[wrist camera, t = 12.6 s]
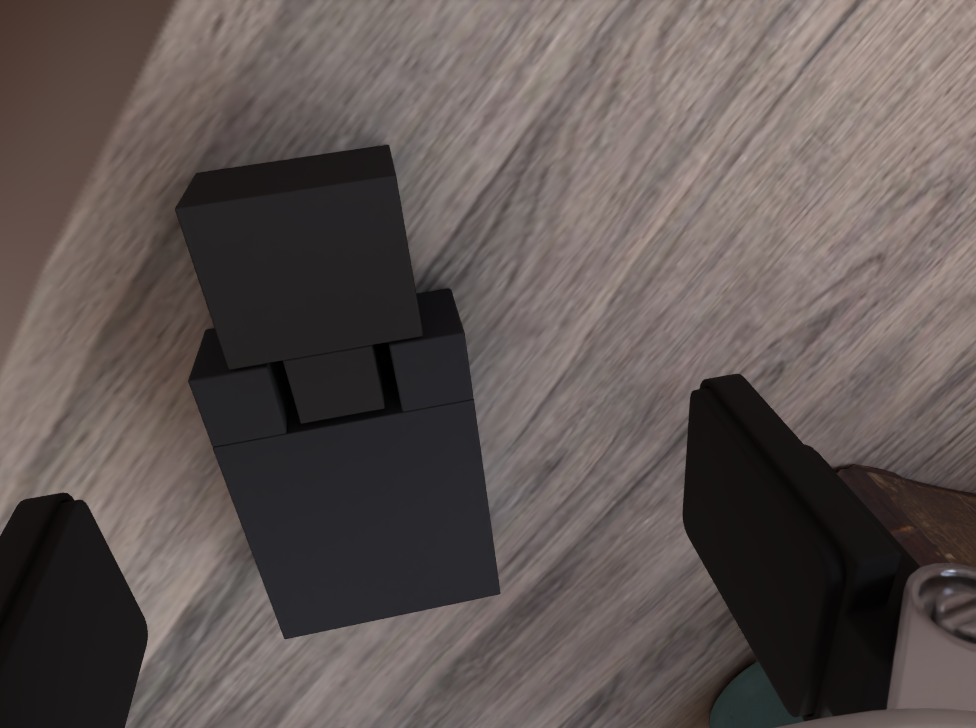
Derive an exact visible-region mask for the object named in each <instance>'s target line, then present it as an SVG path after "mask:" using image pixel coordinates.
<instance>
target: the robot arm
mask: <svg viewBox="0 0 976 728" xmlns="http://www.w3.org/2000/svg"><path fill="white" fill-rule="evenodd" d="M683 523H684V527H685V530H686V533H687V535H688V537H689V539H690V541H691V543H692V545H693V546H694V548H695V550H696V552H697V553H698V555H699V557H700V559H701V560H702V562H703V564H704V566H705V568H706V569H707V571H708V573H709V575H710V576H711V578H712V580H713V582H714V583H715V585H716V587H717V589H718V590H719V592H720V594H721V596H722V598H723V599H724V601H725V603H726V605H727V606H728V608H729V610H730V612H731V613H732V615H733V617H734V619H735V620H736V622H737V624H738V626H739V628H740V629H741V631H742V633H743V635H744V636H745V638H746V640H747V642H748V643H749V645H750V647H751V649H752V650H753V652H754V654H755V656H756V658H757V659H758V661H759V663H760V665H761V666H762V668H763V670H764V672H765V673H766V675H767V677H768V679H769V681H770V682H771V684H772V686H773V688H774V689H775V691H776V693H777V695H778V696H779V698H780V700H781V702H782V703H783V705H784V707H785V708H786V710H787V711H788V713H789V714H790V715H791V716H793V717H800V716H802V718H803V720H804V721H805V722H800V723H795V724H790V725H785V726H780V727H776V728H976V568H975V567H972V566H967V565H961V564H956V563H934V564H930V565H927V566H924V567H920V565H919V564H918V563H917V562H916V561H915V560H914V559H913V558H912V557H911V555H910V554H909V553H908V552H907V551H906V550H905V549H904V548H903V547H902V545H901V544H900V543H899V542H898V541H897V540H896V539H895V538H894V537H893V535H892V534H891V533H890V532H889V531H888V530H887V529H886V528H885V527H884V525H883V524H882V523H881V522H880V521H879V520H878V519H877V518H876V517H875V515H874V514H873V513H872V512H871V511H870V510H869V509H868V508H867V507H866V505H865V504H864V503H863V502H862V501H861V500H860V499H859V498H858V497H857V495H856V494H855V493H854V492H853V491H852V490H851V489H850V488H849V487H848V485H847V484H846V483H845V482H844V481H843V480H842V479H841V478H840V477H839V475H838V474H837V473H836V472H835V471H834V470H833V469H832V468H831V467H830V465H829V464H828V463H827V462H826V461H825V460H824V459H823V458H822V457H821V455H820V454H819V453H818V452H817V451H815V450H814V449H813V448H812V447H811V446H807V445H804V444H803V443H802V442H801V441H800V440H799V439H798V437H797V436H796V435H795V434H794V433H793V432H792V431H791V430H790V428H789V427H788V426H787V425H786V424H785V423H784V422H783V421H782V419H781V418H780V417H779V416H778V415H777V414H776V413H775V412H774V410H773V409H772V408H771V407H770V406H769V405H768V404H767V403H766V401H765V400H764V399H763V398H762V397H761V396H760V395H759V394H758V392H757V391H756V390H755V389H754V388H753V387H752V386H751V385H750V383H749V382H748V381H747V380H746V379H745V378H744V377H743V376H742V375H741V374H732V375H726V376H721V377H715V378H709V379H705V380H703V381H702V383H701V385H700V389H699V390H694V391H692V393H691V396H690V408H689V423H688V438H687V453H686V469H685V484H684V499H683ZM147 640H148V630H147V624H146V621H145V618H144V616H143V614H142V612H141V610H140V608H139V606H138V604H137V602H136V600H135V598H134V596H133V594H132V592H131V590H130V588H129V586H128V584H127V582H126V580H125V578H124V576H123V574H122V572H121V570H120V568H119V566H118V564H117V562H116V560H115V558H114V556H113V555H112V553H111V551H110V549H109V547H108V545H107V543H106V541H105V539H104V537H103V535H102V533H101V531H100V529H99V527H98V525H97V523H96V521H95V519H94V517H93V515H92V513H91V511H90V509H89V507H88V505H87V504H86V503H85V502H84V501H83V500H74V499H73V498H72V496H70V495H69V494H68V493H58V494H53V495H47V496H41V497H36V498H30V499H25V500H23V501H21V502H20V503H19V504H18V505H17V507H16V509H15V510H14V512H13V514H12V516H11V518H10V519H9V521H8V523H7V525H6V527H5V528H4V530H3V532H2V534H1V536H0V728H125V725H126V721H127V717H128V713H129V710H130V706H131V702H132V698H133V695H134V691H135V687H136V683H137V680H138V676H139V672H140V668H141V664H142V661H143V657H144V653H145V649H146V646H147Z"/></svg>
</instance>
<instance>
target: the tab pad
mask: <svg viewBox="0 0 976 728" xmlns="http://www.w3.org/2000/svg"><path fill="white" fill-rule="evenodd" d="M175 211H176V214H177V217H178V220H179V223H180V226H181V229H182V232H183V235H184V238H185V241H186V244H187V247H188V250H189V253H190V256H191V259H192V262H193V265H194V268H195V271H196V274H197V277H198V280H199V282H200V285H201V288H202V291H203V294H204V297H205V300H206V303H207V306H208V309H209V312H210V315H211V318H212V321H213V324H214V327H215V330H216V333H217V336H218V339H219V342H220V345H221V348H222V351H223V354H224V357H225V360H226V363H227V366H228V368H229V369H236V368H242V367H247V366H253V365H259V364H264V363H270V362H276V361H282V360H283V363H284V367H285V370H286V374H287V377H288V381H289V384H290V388H291V391H292V395H293V398H294V401H295V405H296V408H297V412H298V415H299V419H300V422H301V423H307V422H312V421H318V420H323V419H329V418H334V417H340V416H345V415H351V414H356V413H362V412H367V411H373V410H378V409H383V408H384V407H385V405H384V394H383V384H382V373H381V363H380V355H379V350H378V345H377V344H379V343H385V342H391V341H397V340H402V339H408V338H414V337H420V336H423V331H422V325H421V319H420V313H419V307H418V302H417V296H416V290H415V284H414V278H413V272H412V266H411V260H410V255H409V249H408V243H407V237H406V231H405V225H404V219H403V213H402V207H401V202H400V196H399V190H398V184H397V178H396V173H395V169H394V165H393V160H392V156H391V152H390V147H389V145H383V146H376V147H369V148H363V149H356V150H349V151H342V152H336V153H329V154H322V155H316V156H309V157H302V158H295V159H289V160H282V161H275V162H269V163H262V164H255V165H248V166H242V167H235V168H228V169H221V170H215V171H208V172H201V173H196V174H195V176H194V178H193V179H192V181H191V183H190V184H189V186H188V188H187V189H186V191H185V193H184V194H183V196H182V198H181V199H180V201H179V203H178V204H177V206H176V208H175Z"/></svg>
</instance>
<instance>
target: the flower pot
mask: <svg viewBox="0 0 976 728" xmlns="http://www.w3.org/2000/svg"><path fill="white" fill-rule="evenodd" d="M800 722H805V721H804V720H803V718H802V716H800V717H793V716H791V715H790V714H789V713H788V711H787V710H786V708H785V707H784V705H783V703H782V702H781V700H780V698H779V696H778V695H777V693H776V691H775V689H774V688H773V686H772V684H771V682H770V681H769V679H768V677H767V675H766V673H765V672H764V670H763V668H762V666H761V665H760V663H759V661H757V662H756V663H754V664H753V665H751V666H750V667H748V668H747V669H745V670H744V671H743V672H741V673H740V674H739V675H738V676H737V677H735V678H734V679H733V680H732V681H731V682H730V683H729V684H728V686H727V687H726V688H725V689H724V690H723V691H722V693H721V694H720V695H719V697H718V699H717V700H716V702H715V704H714V706H713V708H712V711H711V714H710V720H709V726H710V728H776V727H780V726H785V725H790V724H795V723H800Z"/></svg>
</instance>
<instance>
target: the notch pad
mask: <svg viewBox="0 0 976 728" xmlns="http://www.w3.org/2000/svg"><path fill="white" fill-rule="evenodd" d="M416 296H417V302H418V307H419V313H420V319H421V325H422V331H423V336H420V337H414V338H408V339H402V340H397V341H391V342H389V348H390V353H391V358H392V363H386V364H381V373H382V384H383V394H384V405H385V407H384V408H383V409H378V410H373V411H367V412H362V413H356V414H351V415H345V416H340V417H334V418H329V419H323V420H318V421H312V422H307V423H301V422H300V419H299V415H298V412H297V408H296V405H295V401H294V398H293V395H292V391H291V388H290V384H289V381H288V377H287V374H286V370H285V367H284V363H283V360H282V361H276V362H270V363H264V364H259V365H253V366H247V367H242V368H236V369H229V368H228V366H227V363H226V360H225V357H224V354H223V351H222V348H221V345H220V342H219V339H218V336H217V333H216V330H215V328H214V329H208V330H206V331H205V333H204V336H203V339H202V342H201V345H200V347H199V350H198V353H197V356H196V359H195V362H194V365H193V368H192V371H191V374H190V377H189V380H188V382H189V385H190V388H191V390H192V393H193V396H194V398H195V401H196V404H197V406H198V409H199V412H200V414H201V417H202V420H203V422H204V425H205V428H206V430H207V433H208V436H209V438H210V441H211V444H212V446H213V450H214V453H215V455H216V458H217V461H218V463H219V466H220V469H221V471H222V474H223V477H224V479H225V482H226V485H227V487H228V490H229V493H230V495H231V498H232V501H233V503H234V506H235V509H236V511H237V514H238V517H239V519H240V522H241V525H242V527H243V530H244V533H245V535H246V538H247V541H248V543H249V546H250V548H251V551H252V554H253V556H254V559H255V562H256V564H257V567H258V570H259V572H260V575H261V578H262V580H263V583H264V586H265V588H266V591H267V594H268V596H269V599H270V602H271V604H272V607H273V610H274V612H275V615H276V618H277V620H278V623H279V626H280V628H281V631H282V634H283V636H284V639H289V638H294V637H298V636H303V635H308V634H313V633H318V632H322V631H327V630H332V629H337V628H341V627H346V626H351V625H356V624H360V623H365V622H370V621H375V620H379V619H384V618H389V617H394V616H398V615H403V614H408V613H413V612H417V611H422V610H427V609H432V608H437V607H441V606H446V605H451V604H456V603H460V602H465V601H470V600H475V599H479V598H484V597H489V596H494V595H498V594H500V587H499V579H498V572H497V565H496V557H495V550H494V543H493V536H492V528H491V521H490V514H489V506H488V499H487V492H486V485H485V477H484V470H483V463H482V455H481V448H480V441H479V434H478V426H477V419H476V412H475V404H474V399H473V390H472V383H471V376H470V369H469V361H468V354H467V347H466V339H465V333H464V330H463V326H462V323H461V320H460V317H459V314H458V310H457V307H456V304H455V301H454V297H453V294H452V291H451V289H444V290H438V291H432V292H426V293H421V294H416Z"/></svg>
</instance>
